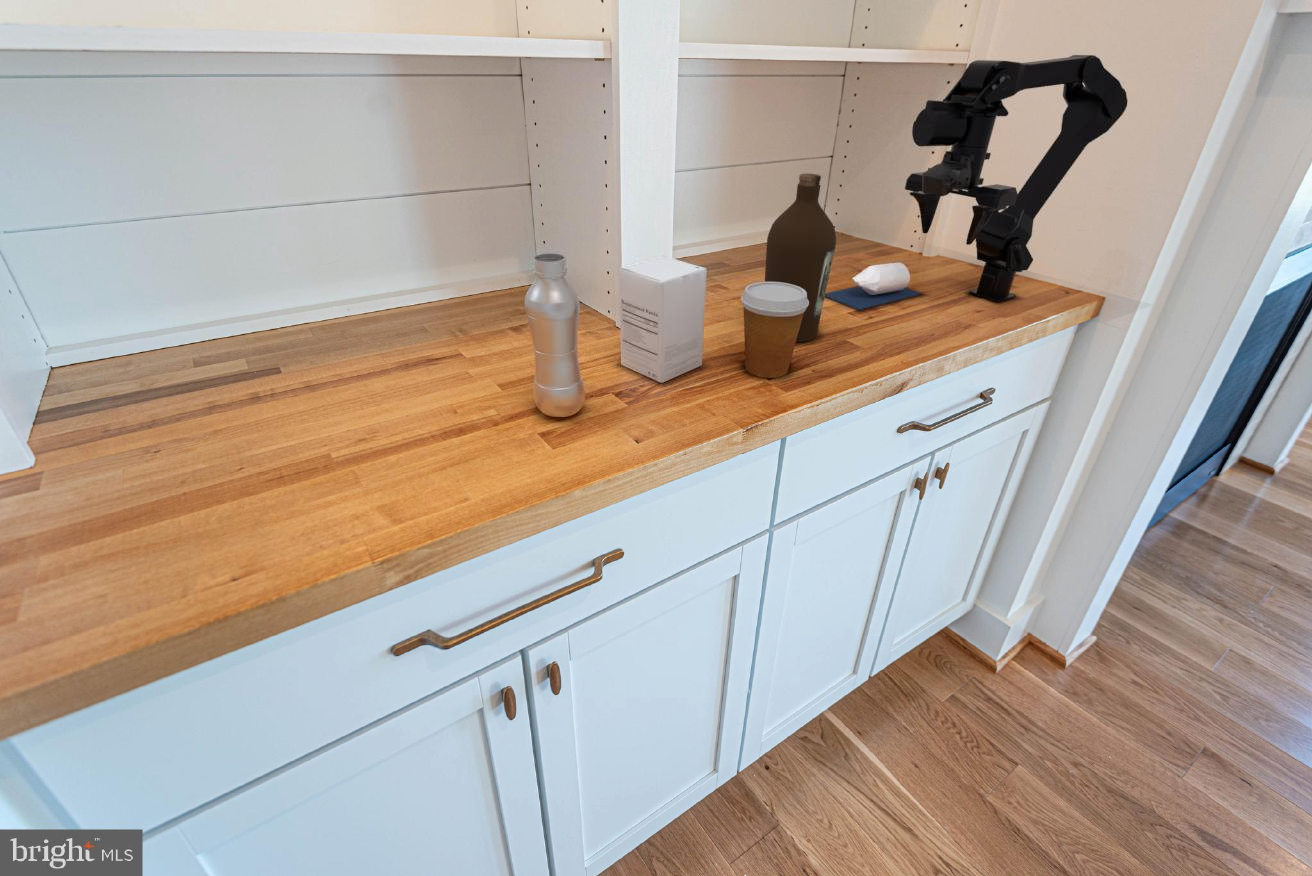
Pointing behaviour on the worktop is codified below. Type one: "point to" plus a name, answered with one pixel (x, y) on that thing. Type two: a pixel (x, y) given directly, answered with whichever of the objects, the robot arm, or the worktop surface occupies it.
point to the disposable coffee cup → (771, 326)
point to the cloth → (868, 297)
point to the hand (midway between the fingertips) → (946, 238)
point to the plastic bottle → (554, 337)
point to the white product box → (662, 317)
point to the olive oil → (803, 251)
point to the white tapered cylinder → (883, 278)
